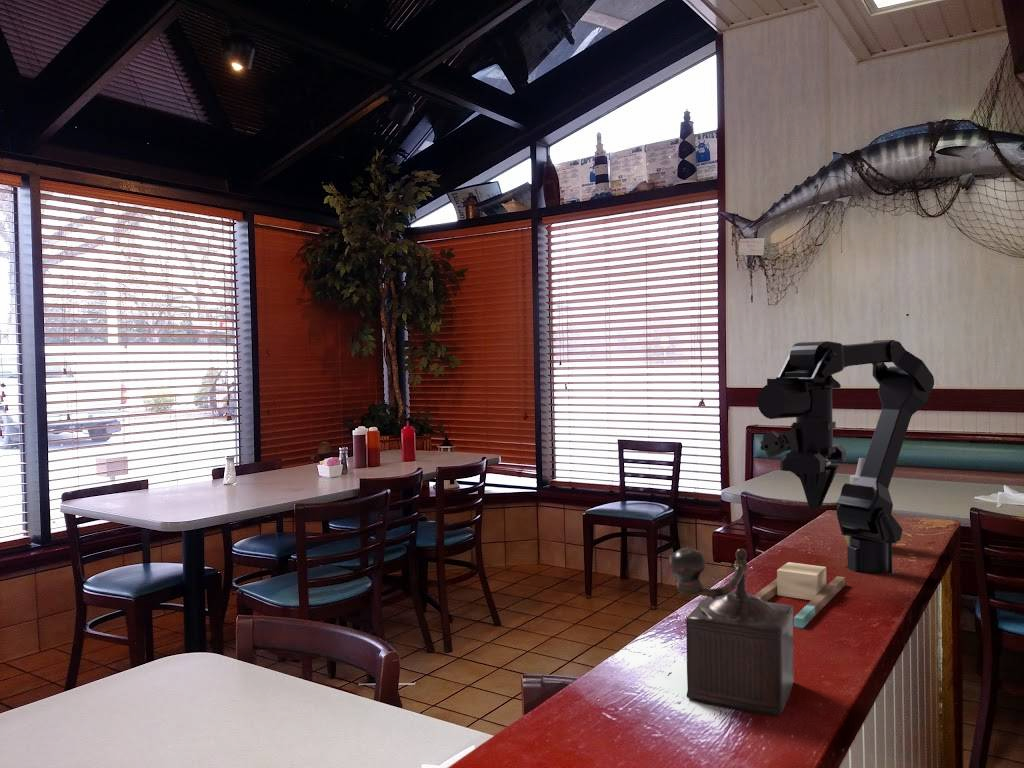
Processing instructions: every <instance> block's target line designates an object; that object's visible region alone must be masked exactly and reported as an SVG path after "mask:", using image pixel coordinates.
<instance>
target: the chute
mask: <svg viewBox="0 0 1024 768" xmlns="http://www.w3.org/2000/svg"><path fill="white" fill-rule="evenodd" d="M845 586H846V576H838V575H837V576H836V577H835V578H833V579H832V580H831V581H830V582H829V583H828V584H826V587H825V588H824V589H823V590H822V591H821V592H820V593H819V594H818V595H817V596H816V597H815V598H814V599H813V600H809V602H808V603H807V604H806V605H805V606H804V607H803V608H802V609H800V611H799V612H798V613H797V614H796V615H794V616H793V628H799V629H803V628H805V627H806V626H807V625H808V624H809V622H811V621H812V620H813V619H814V617H815V616H817V614H818V613H819V612H820V611H822V609H824V607H825V606H826V605H827V604H828V603H830V601H831V600H832V599H833V598H834V597H835V596H837V594H838V593H839V592H840V591H841V590H842V589H843V588H844V587H845ZM775 595H777V577H776V578H775V579H774V580H772V581H771V582H770V583H768V584H767V585H766V586H764V587H763V588H762V589H761V590H760V591H758V592H757V593H755V594H754V595H753V596H755V597H757V598H759V599H761V600H763V601H764V602H769V600H771V599H772V598H773V597H774V596H775Z"/></svg>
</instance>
